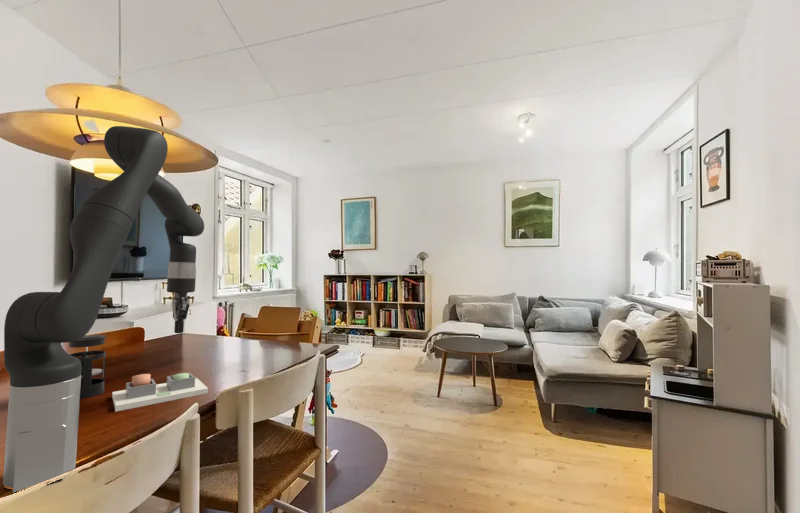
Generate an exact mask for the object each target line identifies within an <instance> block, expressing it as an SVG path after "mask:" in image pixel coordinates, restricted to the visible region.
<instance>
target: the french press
mask: <svg viewBox="0 0 800 513" xmlns="http://www.w3.org/2000/svg"><path fill="white" fill-rule="evenodd" d="M97 319H98V317H97V318H96V320H97ZM89 333H90V331H89V332H88V333H87V334H86V335H85V336H84V337H82V338H81V339H79V340H77V341H74V342H68V347H69V348H76V349H77V348H85V351H78V352H73V353H69V354H70V355H72V356H74V357H76V358H78V359H79V360H80V361H81V364H82V369H81V386H80V400H81V399H82V400H83V399H87V398H92V397H96V396H98V395H101V394H103V393H104V392H105V390H106V389H105V374H106V373H105V372H106V358H107V357H106V355H107V352H106V351H105V350H88V348H89V347H90V348H91V347H96V346H101V345H104V344H105V343H106V342H105V341H106V339H107V336H108V335H106V334H105V335H104V334H103V335H102V334H89ZM100 359H103V369H102V368H93V361H98V360H100ZM101 374H102V378H98V377H97V376H99V375H101ZM95 376H96V377H97V378H92V377H95Z"/></svg>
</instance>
